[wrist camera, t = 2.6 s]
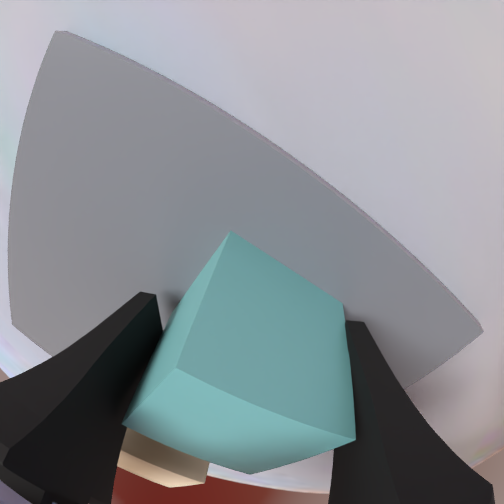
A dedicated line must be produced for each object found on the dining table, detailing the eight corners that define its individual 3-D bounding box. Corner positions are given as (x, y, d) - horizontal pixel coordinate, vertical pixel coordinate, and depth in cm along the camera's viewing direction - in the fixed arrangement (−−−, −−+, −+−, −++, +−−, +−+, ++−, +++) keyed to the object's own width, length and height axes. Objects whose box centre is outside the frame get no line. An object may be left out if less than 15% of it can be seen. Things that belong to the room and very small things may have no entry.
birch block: (225, 393, 14) (204, 483, 10) (190, 417, 16) (169, 487, 12) (144, 352, 13) (104, 441, 9) (123, 383, 15) (92, 453, 11)
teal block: (342, 303, 10) (355, 439, 6) (266, 364, 12) (250, 474, 8) (230, 230, 9) (175, 367, 5) (171, 313, 11) (121, 423, 7)
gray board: (479, 322, 10) (484, 333, 10) (256, 450, 19) (255, 458, 19) (66, 31, 6) (53, 30, 6) (16, 318, 15) (11, 325, 15)
